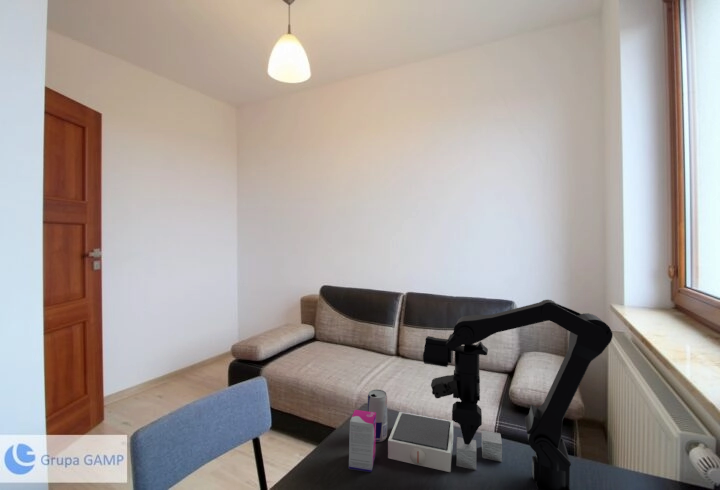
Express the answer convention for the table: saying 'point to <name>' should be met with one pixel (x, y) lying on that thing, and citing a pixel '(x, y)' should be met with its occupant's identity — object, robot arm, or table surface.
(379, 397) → the energy drink
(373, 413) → the supplement box
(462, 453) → the block
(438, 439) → the pan
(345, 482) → the table surface
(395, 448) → the base
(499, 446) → the block
